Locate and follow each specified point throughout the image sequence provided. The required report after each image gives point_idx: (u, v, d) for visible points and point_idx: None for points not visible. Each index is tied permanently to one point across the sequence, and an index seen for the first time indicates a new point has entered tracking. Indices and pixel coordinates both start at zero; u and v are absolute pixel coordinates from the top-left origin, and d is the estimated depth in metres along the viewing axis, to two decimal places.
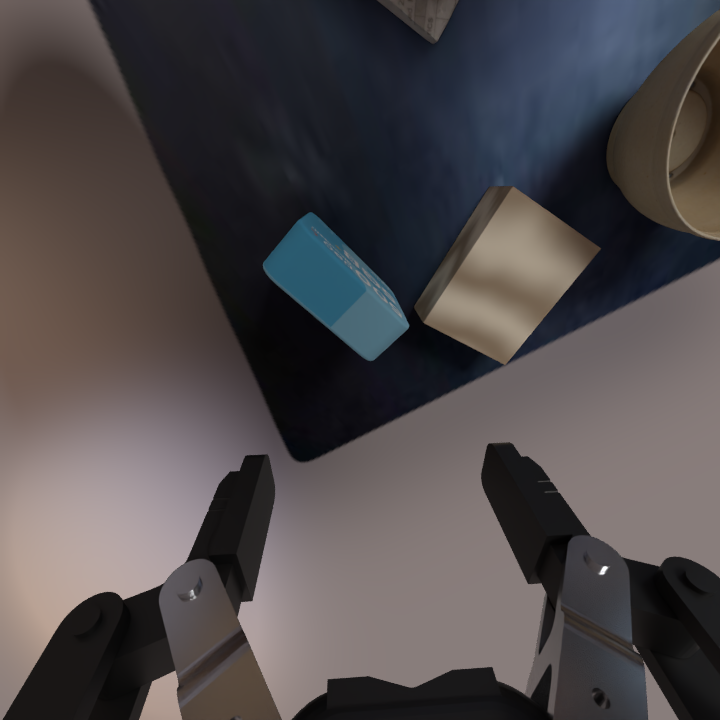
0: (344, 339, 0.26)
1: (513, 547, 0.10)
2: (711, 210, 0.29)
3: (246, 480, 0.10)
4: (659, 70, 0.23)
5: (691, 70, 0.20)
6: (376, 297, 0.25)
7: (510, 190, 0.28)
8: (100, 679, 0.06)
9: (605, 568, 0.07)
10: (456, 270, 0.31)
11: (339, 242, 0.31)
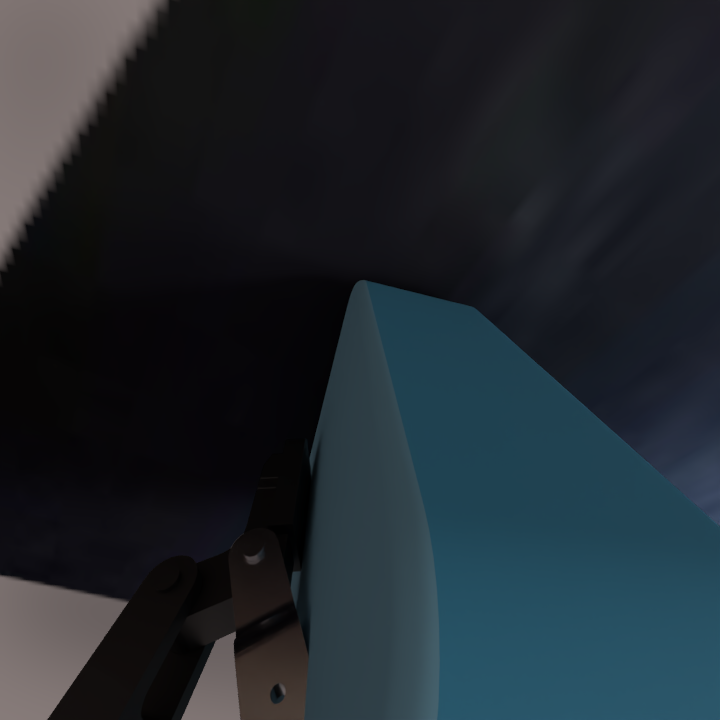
0: None
1: None
2: None
3: (291, 461, 0.11)
4: None
5: None
6: None
7: None
8: (172, 637, 0.07)
9: None
10: None
11: None
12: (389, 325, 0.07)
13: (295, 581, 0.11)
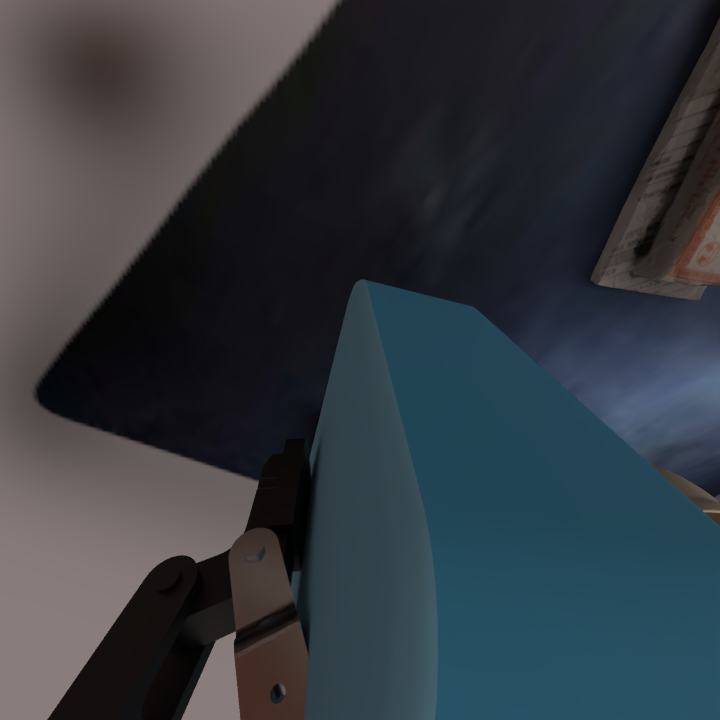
0: None
1: None
2: None
3: (291, 461, 0.11)
4: None
5: None
6: None
7: None
8: (172, 637, 0.07)
9: None
10: None
11: None
12: (388, 324, 0.07)
13: (295, 580, 0.11)
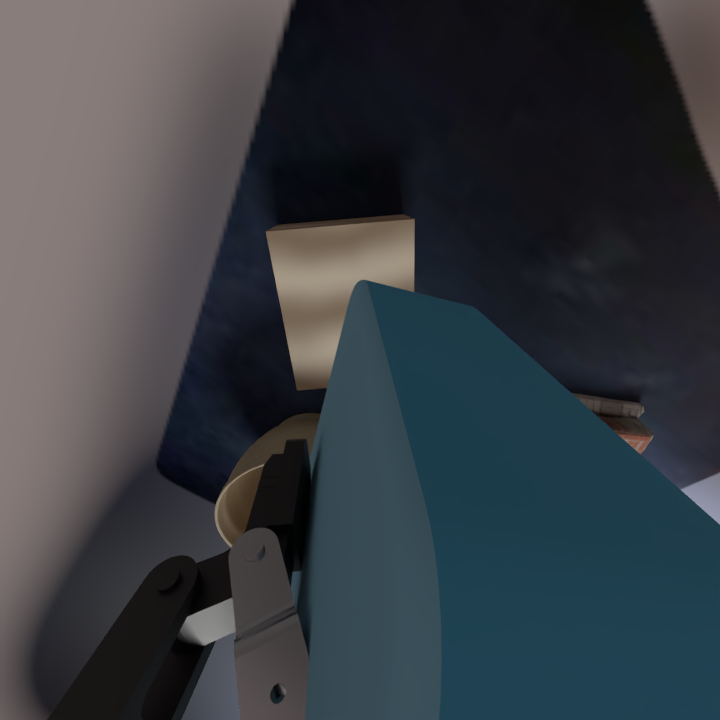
0: None
1: None
2: None
3: (291, 461, 0.11)
4: None
5: None
6: None
7: None
8: (172, 637, 0.07)
9: None
10: None
11: None
12: (389, 325, 0.07)
13: (295, 580, 0.11)
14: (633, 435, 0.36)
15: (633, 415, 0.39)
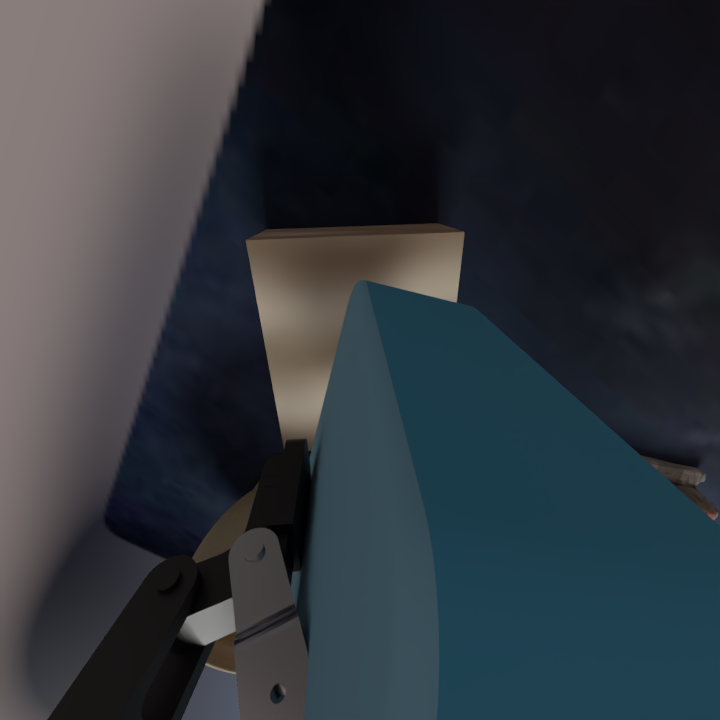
0: None
1: None
2: None
3: (291, 461, 0.11)
4: None
5: None
6: None
7: None
8: (172, 637, 0.07)
9: None
10: None
11: None
12: (388, 325, 0.07)
13: (295, 581, 0.11)
14: None
15: (691, 484, 0.32)
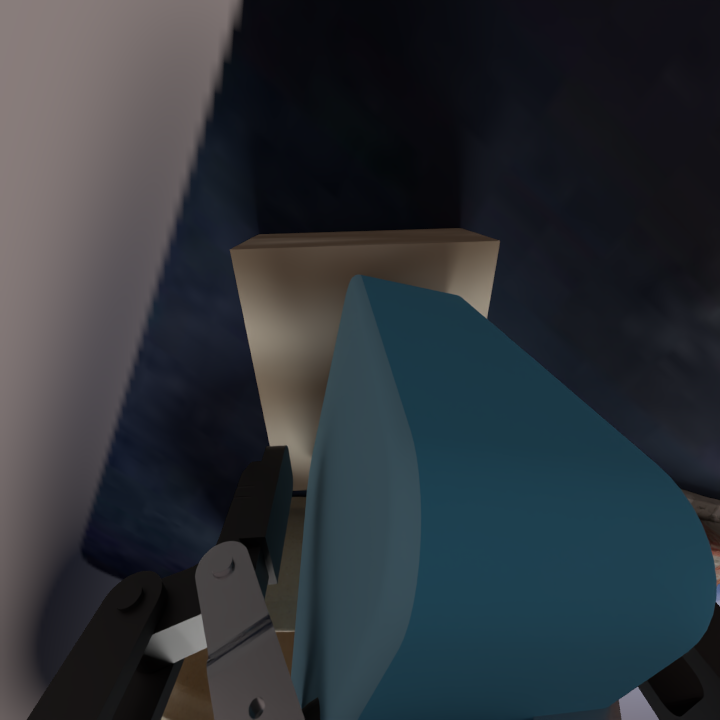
0: None
1: None
2: None
3: (269, 469, 0.10)
4: None
5: None
6: None
7: None
8: (137, 655, 0.06)
9: None
10: None
11: None
12: (382, 311, 0.09)
13: (308, 546, 0.12)
14: None
15: None
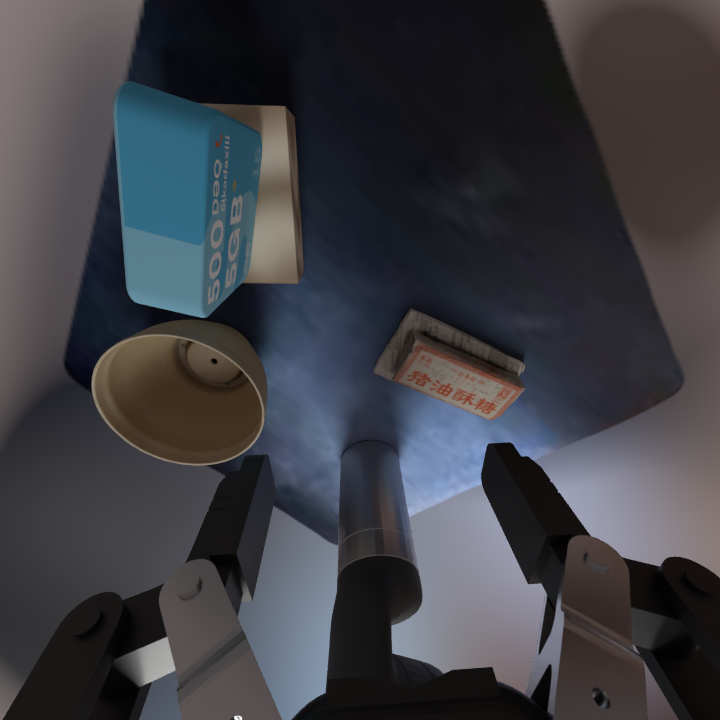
0: (126, 253, 0.19)
1: (513, 547, 0.10)
2: (140, 347, 0.34)
3: (246, 480, 0.10)
4: (266, 380, 0.36)
5: (260, 390, 0.32)
6: (202, 262, 0.19)
7: (297, 280, 0.32)
8: (100, 679, 0.06)
9: (605, 568, 0.07)
10: (291, 191, 0.28)
11: (249, 186, 0.25)
12: None
13: None
14: (507, 382, 0.40)
15: (515, 371, 0.43)
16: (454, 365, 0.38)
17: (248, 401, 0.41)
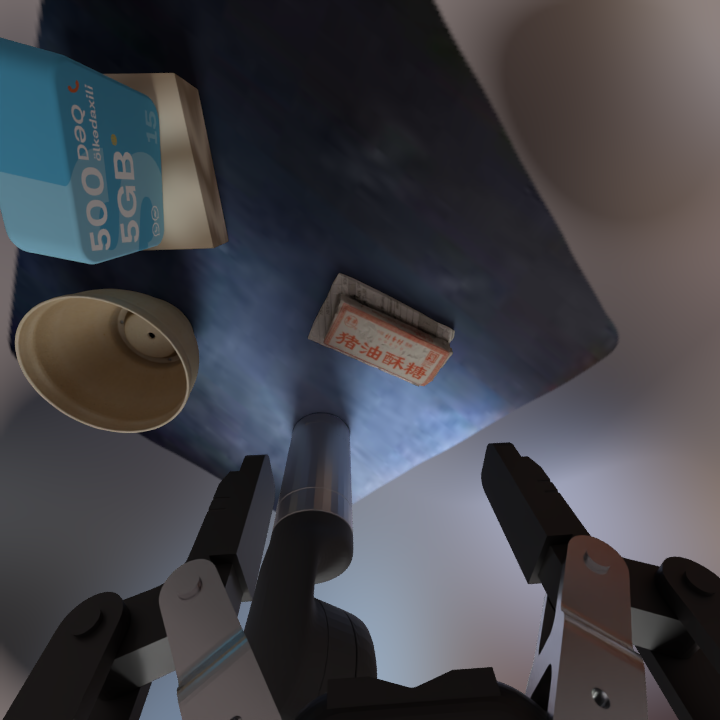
0: None
1: (513, 547, 0.10)
2: (70, 319, 0.36)
3: (246, 480, 0.10)
4: (195, 346, 0.37)
5: (180, 351, 0.33)
6: (72, 203, 0.21)
7: (212, 244, 0.33)
8: (100, 679, 0.06)
9: (605, 568, 0.07)
10: (193, 156, 0.30)
11: (142, 147, 0.27)
12: None
13: None
14: (434, 346, 0.41)
15: (446, 338, 0.44)
16: (380, 327, 0.39)
17: None
